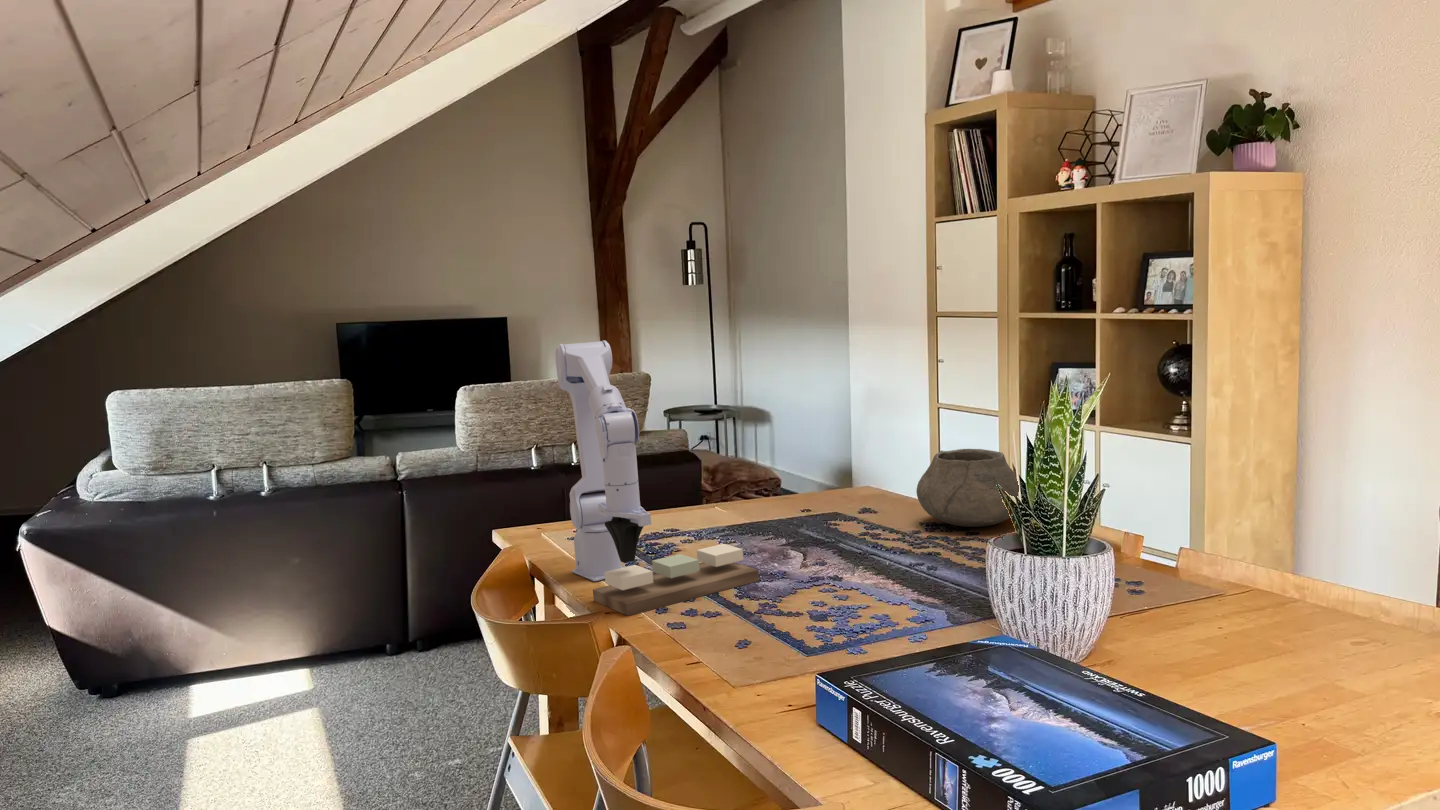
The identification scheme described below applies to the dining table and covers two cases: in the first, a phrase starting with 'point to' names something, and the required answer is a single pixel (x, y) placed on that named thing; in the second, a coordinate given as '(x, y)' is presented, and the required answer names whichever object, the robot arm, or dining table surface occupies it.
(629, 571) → the key
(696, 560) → the key middle
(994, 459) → the clay pot
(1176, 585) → the dining table surface
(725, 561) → the key
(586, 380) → the robot arm
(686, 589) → the board
